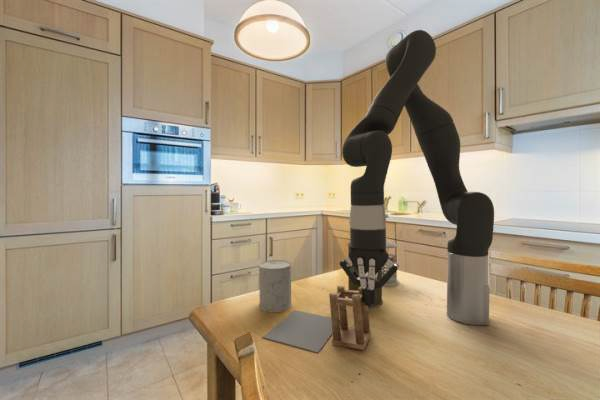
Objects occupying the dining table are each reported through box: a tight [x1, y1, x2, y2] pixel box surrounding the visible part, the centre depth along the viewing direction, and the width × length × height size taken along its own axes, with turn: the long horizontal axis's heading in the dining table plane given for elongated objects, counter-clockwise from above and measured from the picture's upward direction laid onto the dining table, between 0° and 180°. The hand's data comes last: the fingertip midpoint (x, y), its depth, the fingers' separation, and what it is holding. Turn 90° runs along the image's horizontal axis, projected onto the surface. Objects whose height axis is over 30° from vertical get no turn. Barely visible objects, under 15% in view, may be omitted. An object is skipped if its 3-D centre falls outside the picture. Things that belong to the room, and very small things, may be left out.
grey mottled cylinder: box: [258, 259, 293, 313], centre depth 82 cm, size 10×10×12 cm
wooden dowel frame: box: [328, 285, 372, 351], centre depth 63 cm, size 7×7×11 cm
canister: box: [347, 242, 384, 308], centre depth 85 cm, size 11×10×20 cm
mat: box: [262, 309, 333, 354], centre depth 68 cm, size 14×16×1 cm
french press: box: [382, 213, 400, 287], centre depth 102 cm, size 10×12×25 cm
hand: (369, 304), depth 61 cm, fingers closed
